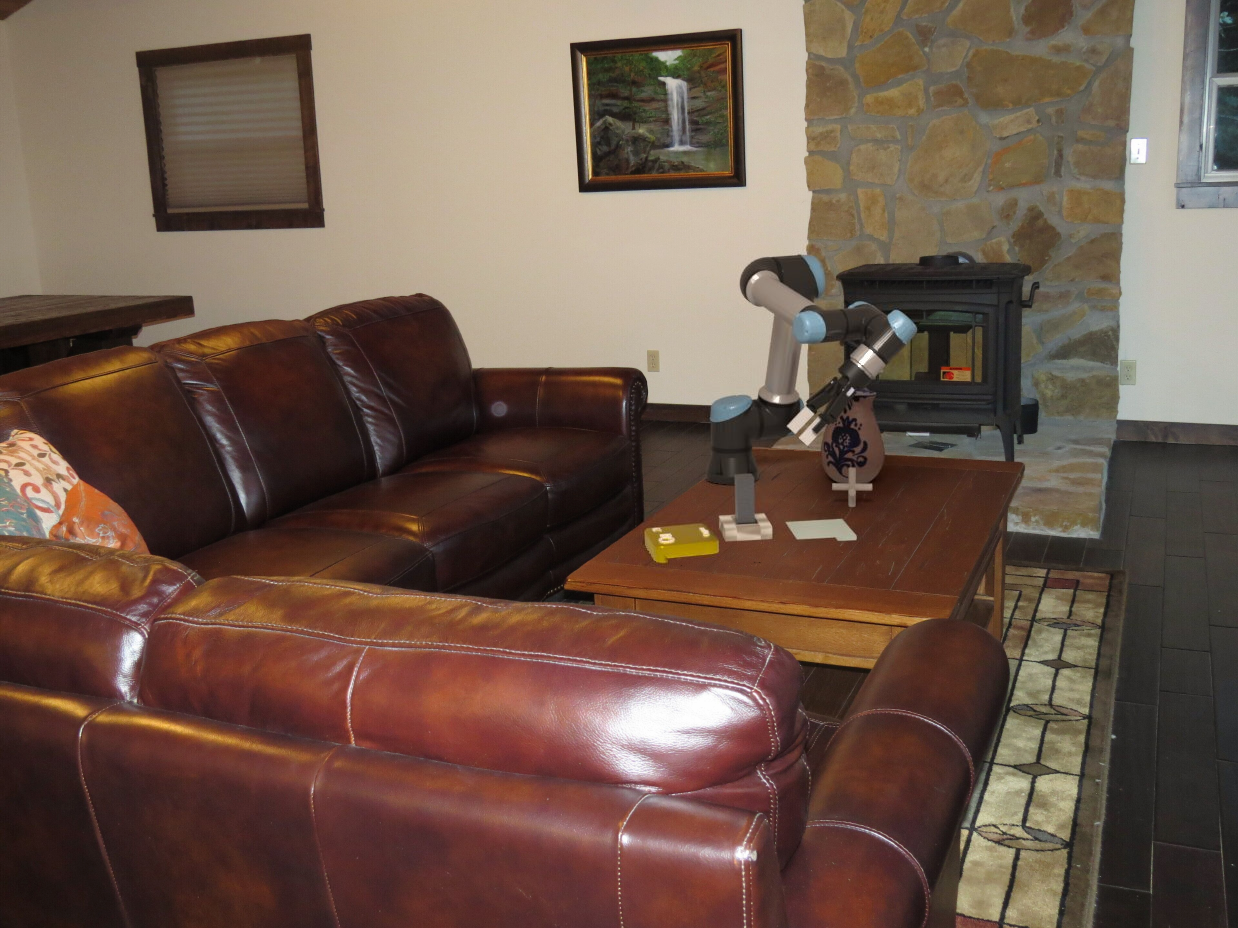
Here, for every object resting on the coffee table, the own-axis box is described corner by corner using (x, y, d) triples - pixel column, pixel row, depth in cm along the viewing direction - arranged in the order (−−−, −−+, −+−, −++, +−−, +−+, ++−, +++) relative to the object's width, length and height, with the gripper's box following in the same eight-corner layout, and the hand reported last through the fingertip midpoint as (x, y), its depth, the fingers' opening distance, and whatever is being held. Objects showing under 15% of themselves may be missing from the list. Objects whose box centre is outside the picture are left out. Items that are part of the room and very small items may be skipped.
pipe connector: (872, 511, 284) (872, 473, 282) (831, 511, 286) (832, 473, 284) (871, 500, 294) (872, 463, 291) (832, 500, 296) (832, 463, 293)
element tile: (721, 559, 255) (720, 538, 254) (656, 565, 252) (655, 544, 251) (705, 539, 269) (704, 520, 268) (643, 545, 267) (642, 526, 266)
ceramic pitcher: (814, 487, 309) (814, 397, 303) (830, 468, 328) (830, 384, 322) (878, 491, 303) (879, 399, 297) (891, 472, 321) (893, 385, 315)
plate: (785, 525, 276) (785, 521, 275) (842, 522, 276) (842, 518, 276) (796, 543, 262) (796, 539, 262) (856, 539, 262) (856, 535, 262)
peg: (735, 530, 270) (734, 474, 267) (752, 529, 270) (751, 473, 267) (738, 535, 266) (737, 478, 263) (754, 534, 266) (754, 477, 263)
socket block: (719, 531, 273) (718, 515, 273) (764, 528, 274) (764, 513, 273) (725, 545, 263) (725, 528, 262) (772, 542, 263) (772, 526, 262)
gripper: (887, 387, 248) (820, 457, 251) (858, 371, 273) (797, 435, 276) (863, 365, 247) (796, 435, 250) (836, 350, 271) (775, 415, 274)
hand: (796, 435), depth 263 cm, fingers open, 13 cm apart
